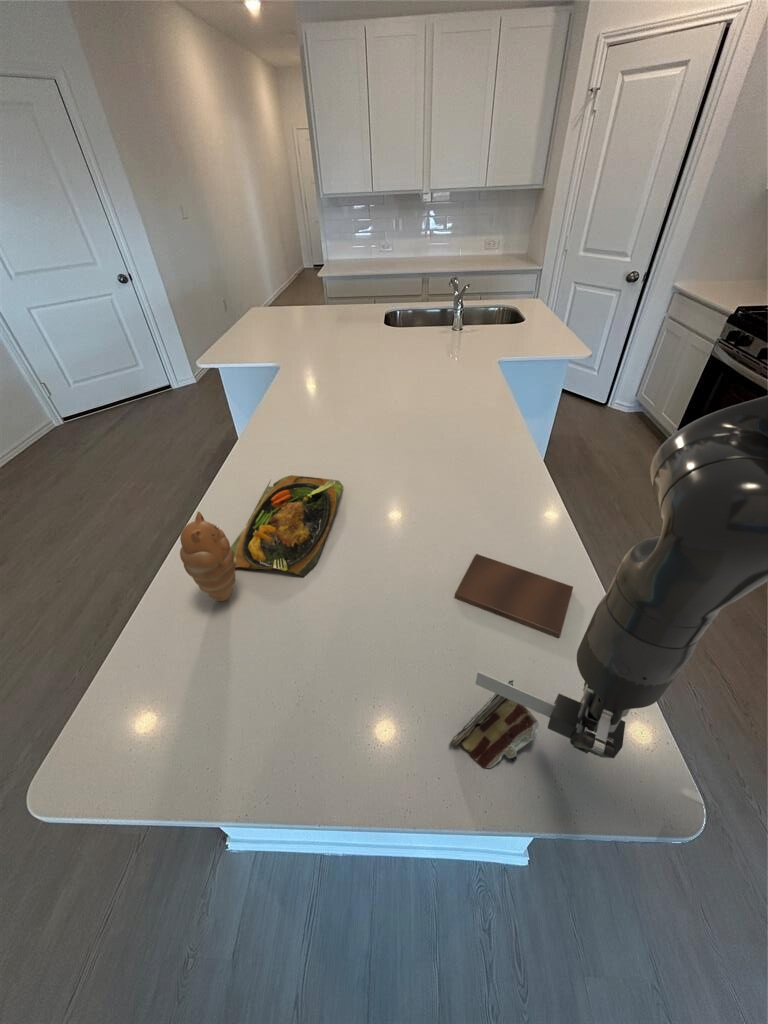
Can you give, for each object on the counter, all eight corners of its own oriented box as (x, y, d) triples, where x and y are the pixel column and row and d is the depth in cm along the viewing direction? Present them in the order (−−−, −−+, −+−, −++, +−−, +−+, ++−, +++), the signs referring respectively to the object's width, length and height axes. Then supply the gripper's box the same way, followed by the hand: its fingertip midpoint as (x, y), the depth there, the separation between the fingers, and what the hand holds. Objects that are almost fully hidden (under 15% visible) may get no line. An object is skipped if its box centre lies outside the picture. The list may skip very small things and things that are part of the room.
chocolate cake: (484, 795, 55) (554, 735, 52) (444, 746, 57) (509, 686, 55) (498, 762, 63) (559, 709, 61) (463, 721, 66) (520, 668, 63)
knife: (617, 733, 49) (625, 721, 47) (613, 759, 47) (622, 747, 45) (479, 673, 55) (482, 660, 53) (471, 693, 53) (473, 681, 51)
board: (571, 590, 78) (573, 586, 77) (558, 638, 71) (560, 634, 70) (475, 557, 85) (475, 553, 84) (454, 597, 78) (454, 593, 77)
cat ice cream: (244, 612, 76) (216, 537, 65) (197, 619, 76) (161, 544, 64) (248, 575, 83) (223, 501, 71) (205, 580, 82) (173, 506, 71)
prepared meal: (310, 565, 79) (217, 553, 82) (312, 578, 82) (221, 567, 84) (346, 479, 101) (272, 472, 103) (347, 491, 103) (274, 484, 106)
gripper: (681, 737, 32) (610, 813, 43) (684, 600, 41) (625, 692, 53) (574, 692, 35) (533, 774, 46) (600, 574, 44) (561, 665, 55)
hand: (583, 730), depth 49 cm, fingers closed on knife, 3 cm apart
